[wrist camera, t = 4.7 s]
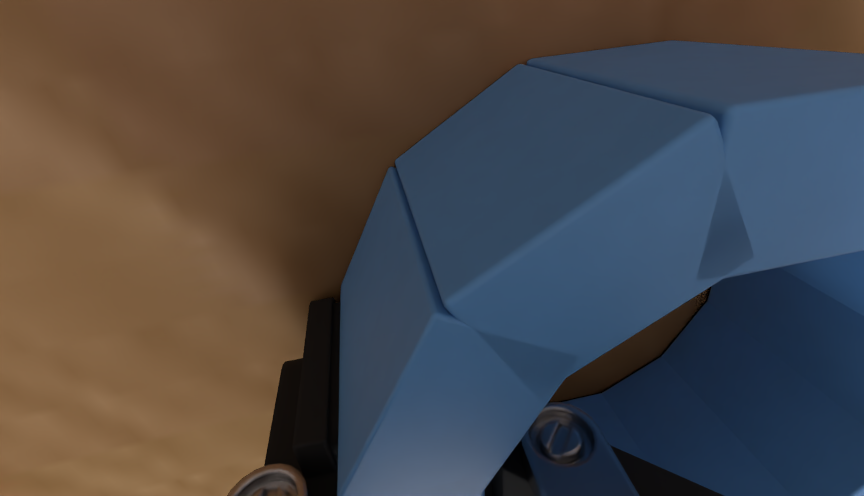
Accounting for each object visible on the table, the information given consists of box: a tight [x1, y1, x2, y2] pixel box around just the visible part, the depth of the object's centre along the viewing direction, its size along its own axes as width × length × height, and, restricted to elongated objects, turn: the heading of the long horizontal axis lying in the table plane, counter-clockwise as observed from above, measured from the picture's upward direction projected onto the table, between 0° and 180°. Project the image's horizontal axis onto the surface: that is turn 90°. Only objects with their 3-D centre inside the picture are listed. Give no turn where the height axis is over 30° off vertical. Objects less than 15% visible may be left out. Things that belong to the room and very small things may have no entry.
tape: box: [337, 40, 864, 496], centre depth 9 cm, size 12×12×5 cm
